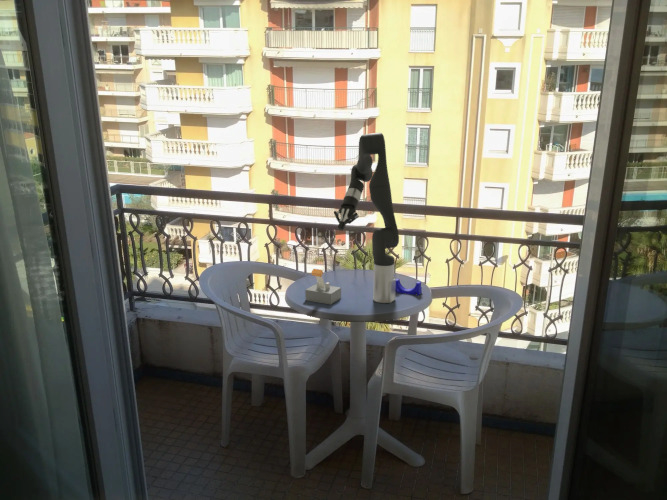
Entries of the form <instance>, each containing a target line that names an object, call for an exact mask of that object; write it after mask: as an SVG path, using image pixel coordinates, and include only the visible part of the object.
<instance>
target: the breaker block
mask: <svg viewBox="0 0 667 500" xmlns="http://www.w3.org/2000/svg"><path fill="white" fill-rule="evenodd" d="M324 284H325V288H324V289H322V288H320V287H319V284H318V281H316V283H315V284H312V285H311V286H310V287H308V288H306V289H305V294H304V295H305V301H307V302H315V303H320V304H326V305H332V304H333V305H334V303H336V302H337V301H338V300H339V301H340V300H341V298H342V287H339V286H333V285H331V284H330V282H328V281H327V282H324Z"/></svg>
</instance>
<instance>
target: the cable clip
mask: <svg viewBox="0 0 667 500" xmlns="http://www.w3.org/2000/svg"><path fill="white" fill-rule="evenodd" d="M395 280H396V291H395V293H398V294H399V293H400V294H405V293H406V295H407V294H408V295H412V294H413V295H414V296H420V295H421V294H422V293H423V292H422V291H423V290H422V289H423V288H422V281H417V282H415V286H414V287H412V288H411V287H410V288H406V287H404V286H403V285H402V283H401V280H400V278H395ZM416 294H417V295H416ZM413 295H412V296H413Z"/></svg>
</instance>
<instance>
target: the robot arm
mask: <svg viewBox="0 0 667 500" xmlns="http://www.w3.org/2000/svg"><path fill="white" fill-rule="evenodd" d="M372 155H377V163H376V166H375V169H374V172H373V169H372V166H373V163H374V161H373V160H374V159H373V157H372ZM357 158H358V159H357V164H354V165H353V166H352V167H351V171H350V182H349V185H348V188H347V189H346V193H345V194H344V197H343V199H342V202H341V205H340V207H339V209H338V210H337V211H336V210H334V211H333V214H334V216H335V219H336V221H337V222H338V226H337V229H338V230H339V231H342V232H343V230H345V228H346V225H347V224H349V225H350V224H351V223H353V222H354V221H355V220H357V219H358V218H359V217H360V216H359V214H358V212H357V208H358V206H359V203H360V201H361V197H362V194H363V191H364V188H365V184H364V183H368V182H369V183H368V184H369V185H368V187H369V195H370V199H371V203H372V205H374V207H375V208H376V209H377V211H378V212H379V213H380V215H381V217H382V220H383V224H384V227H380V228H375V230H373V232H372V235H371V242H372V243H371V246H372V247H371V248H372V259H373V288H372V289H373V293H372V294H373V295H372V296H373V297H372V298H373V301H374V302H376V303H378V304H379V303H381V304H386V303H387V304H392V302H394V301H395V300H396V292H395V291H396V278H395V259H396V258H395V257H394V256H393V255H389V254H387V252H386V250H387V249H393V248H396V247H398V245H399V242H400V236H399V235H400V234H399V228H398V225H397V221H396V218H395V212H394V207H393V198H392V190H391V183H390V177H389V172H388V170H389V169H388V164H387V150H386V140H385V136H384V134H383V133H382V132H373V133H366V134H362V135H360V137H359V141H358V157H357ZM339 216H340V217H339Z"/></svg>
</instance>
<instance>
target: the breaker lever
mask: <svg viewBox="0 0 667 500" xmlns="http://www.w3.org/2000/svg"><path fill="white" fill-rule="evenodd" d="M311 275H312V276H313V277H315V278H316V282H318V284H319V287H320V288H322V289H324V288H325V281H324V278H323V275H324V271H323V269H318V268H313V269H312V270H311Z"/></svg>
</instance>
